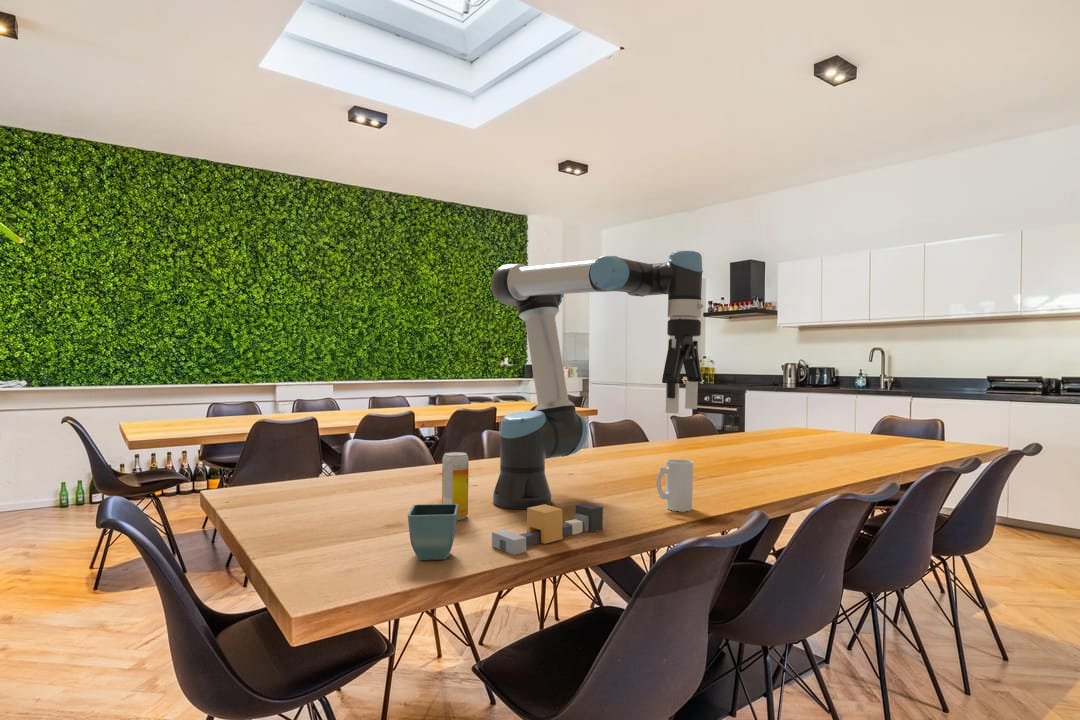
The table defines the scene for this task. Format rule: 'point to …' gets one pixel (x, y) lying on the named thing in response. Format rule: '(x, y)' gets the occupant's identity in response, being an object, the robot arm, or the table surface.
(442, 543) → the flower pot
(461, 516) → the beer can
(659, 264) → the robot arm
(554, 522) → the sleeve
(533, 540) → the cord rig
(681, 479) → the mug
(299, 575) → the table surface
